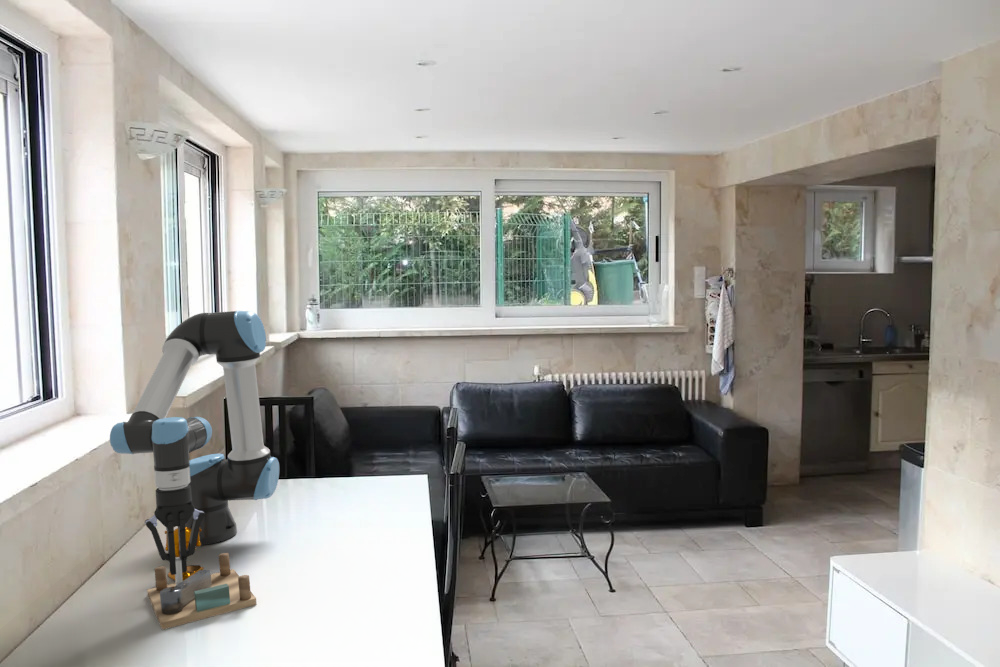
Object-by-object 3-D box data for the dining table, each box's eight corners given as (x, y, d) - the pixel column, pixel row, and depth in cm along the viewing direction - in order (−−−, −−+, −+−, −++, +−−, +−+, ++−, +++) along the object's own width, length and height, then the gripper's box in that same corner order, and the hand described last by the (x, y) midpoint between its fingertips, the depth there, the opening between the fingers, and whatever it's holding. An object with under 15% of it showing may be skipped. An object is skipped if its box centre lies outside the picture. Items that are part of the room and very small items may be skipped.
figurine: (205, 563, 207) (201, 518, 206) (201, 578, 197) (197, 531, 195) (170, 568, 205) (165, 523, 203) (164, 584, 194) (160, 536, 193)
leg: (174, 614, 172) (173, 595, 172) (157, 613, 173) (155, 594, 173) (214, 586, 187) (213, 568, 186) (198, 585, 188) (196, 567, 187)
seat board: (147, 595, 188) (145, 569, 187) (234, 574, 198) (231, 549, 197) (162, 629, 169) (159, 600, 168) (256, 604, 179) (254, 576, 179)
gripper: (144, 494, 174) (151, 598, 175) (205, 485, 180) (211, 586, 182) (140, 487, 180) (147, 587, 182) (199, 478, 187) (205, 575, 188)
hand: (179, 586), depth 182 cm, fingers closed
